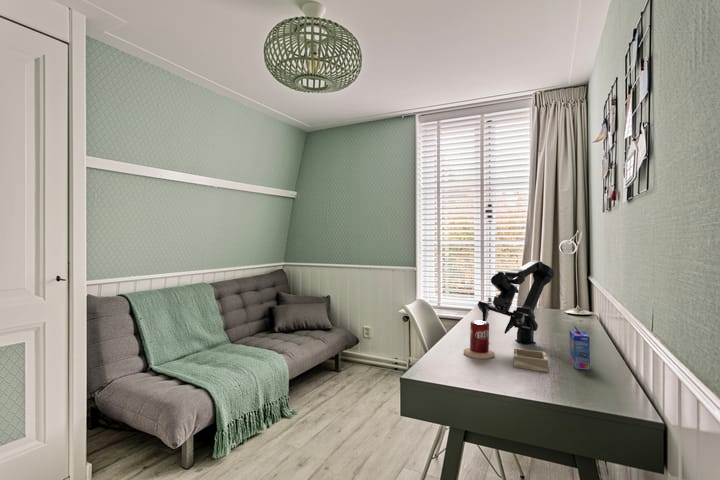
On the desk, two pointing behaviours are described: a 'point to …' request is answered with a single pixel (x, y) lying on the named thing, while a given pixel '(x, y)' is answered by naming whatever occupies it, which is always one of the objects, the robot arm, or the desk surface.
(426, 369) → the desk surface
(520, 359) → the birch box
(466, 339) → the desk surface
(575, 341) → the ink cartridge box
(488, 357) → the coaster
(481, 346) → the soda can
